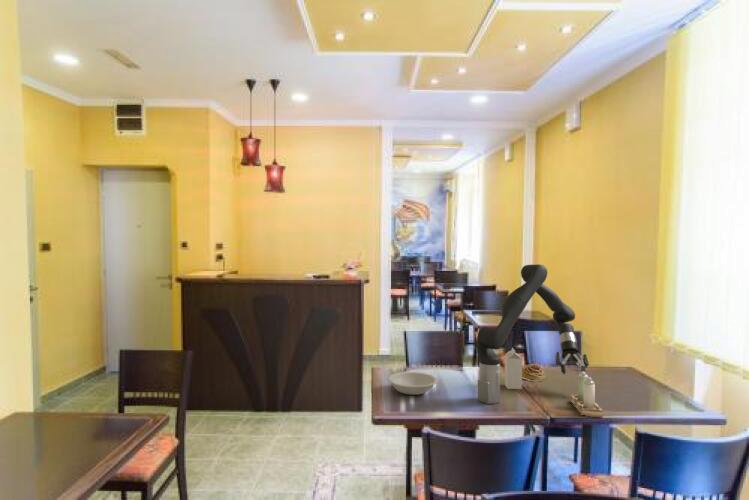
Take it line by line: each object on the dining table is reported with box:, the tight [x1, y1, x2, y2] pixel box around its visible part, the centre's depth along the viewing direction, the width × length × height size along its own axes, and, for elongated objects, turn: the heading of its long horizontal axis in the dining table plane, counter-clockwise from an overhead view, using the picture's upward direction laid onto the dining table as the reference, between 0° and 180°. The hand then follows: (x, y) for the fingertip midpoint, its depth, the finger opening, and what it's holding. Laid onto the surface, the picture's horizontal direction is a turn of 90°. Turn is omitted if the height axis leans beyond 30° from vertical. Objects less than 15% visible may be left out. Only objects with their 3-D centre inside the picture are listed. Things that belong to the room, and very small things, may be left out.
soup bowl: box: [387, 371, 439, 396], centre depth 215 cm, size 24×24×7 cm
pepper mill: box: [577, 371, 589, 401], centre depth 199 cm, size 4×4×13 cm
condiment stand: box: [569, 394, 604, 418], centre depth 194 cm, size 18×8×3 cm, turn 171°
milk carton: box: [504, 347, 523, 390], centre depth 224 cm, size 7×7×19 cm
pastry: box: [522, 363, 546, 380], centre depth 241 cm, size 13×15×8 cm
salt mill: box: [583, 376, 596, 409], centre depth 190 cm, size 4×4×13 cm
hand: (574, 374), depth 210 cm, fingers open, 8 cm apart
